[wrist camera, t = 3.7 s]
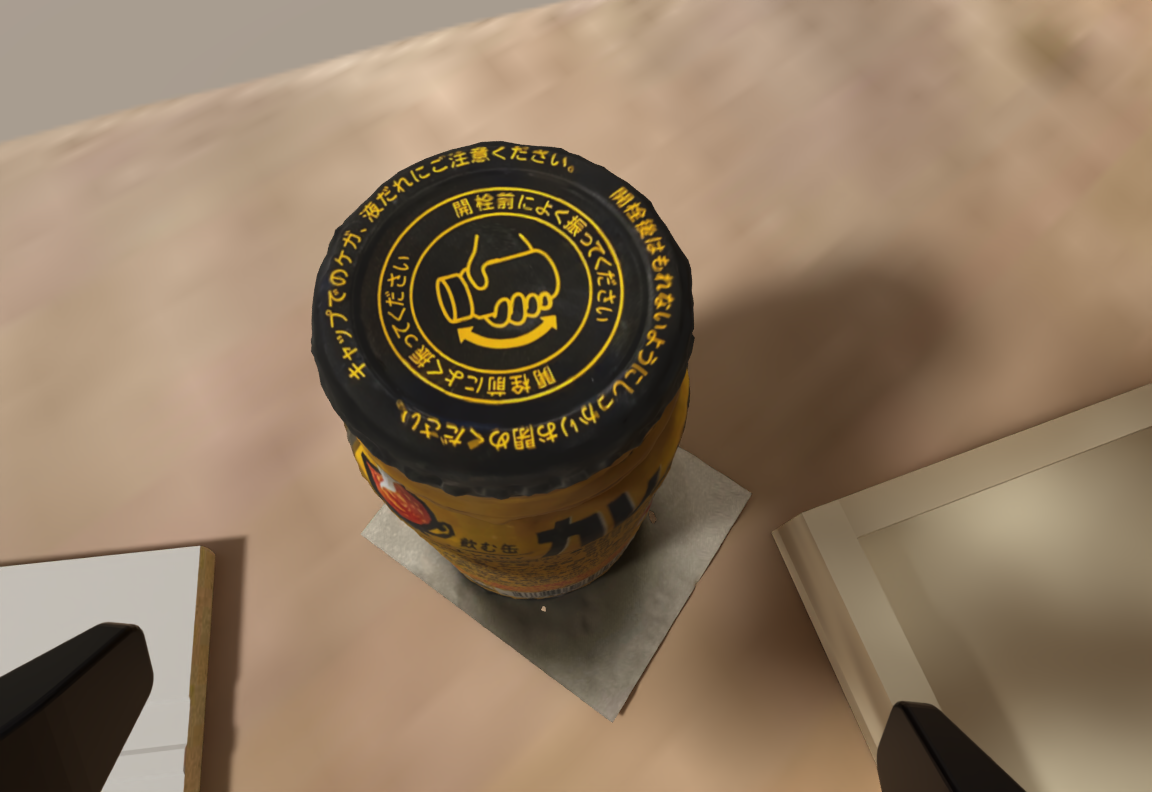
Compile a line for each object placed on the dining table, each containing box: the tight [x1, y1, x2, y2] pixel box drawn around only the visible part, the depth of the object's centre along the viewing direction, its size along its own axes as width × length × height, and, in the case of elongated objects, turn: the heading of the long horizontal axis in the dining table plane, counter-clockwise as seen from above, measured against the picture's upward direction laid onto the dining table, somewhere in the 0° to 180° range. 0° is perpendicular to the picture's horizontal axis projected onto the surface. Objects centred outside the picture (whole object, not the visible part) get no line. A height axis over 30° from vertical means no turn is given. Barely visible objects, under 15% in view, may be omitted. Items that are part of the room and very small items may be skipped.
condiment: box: [311, 141, 752, 723], centre depth 15 cm, size 7×8×12 cm
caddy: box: [771, 383, 1152, 792], centre depth 17 cm, size 13×13×3 cm
